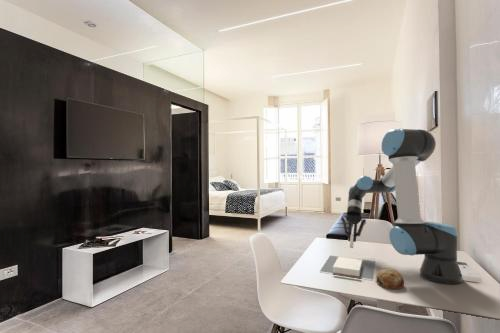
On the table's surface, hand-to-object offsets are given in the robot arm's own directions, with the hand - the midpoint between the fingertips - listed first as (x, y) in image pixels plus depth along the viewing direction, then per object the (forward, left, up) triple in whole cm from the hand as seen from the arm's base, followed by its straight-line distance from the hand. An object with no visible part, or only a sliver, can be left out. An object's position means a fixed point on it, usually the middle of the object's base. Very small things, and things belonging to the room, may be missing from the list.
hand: (351, 246), depth 144 cm
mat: (-9, +5, -7) cm, 13 cm away
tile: (-7, +4, -5) cm, 9 cm away
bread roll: (-30, -3, -8) cm, 31 cm away
